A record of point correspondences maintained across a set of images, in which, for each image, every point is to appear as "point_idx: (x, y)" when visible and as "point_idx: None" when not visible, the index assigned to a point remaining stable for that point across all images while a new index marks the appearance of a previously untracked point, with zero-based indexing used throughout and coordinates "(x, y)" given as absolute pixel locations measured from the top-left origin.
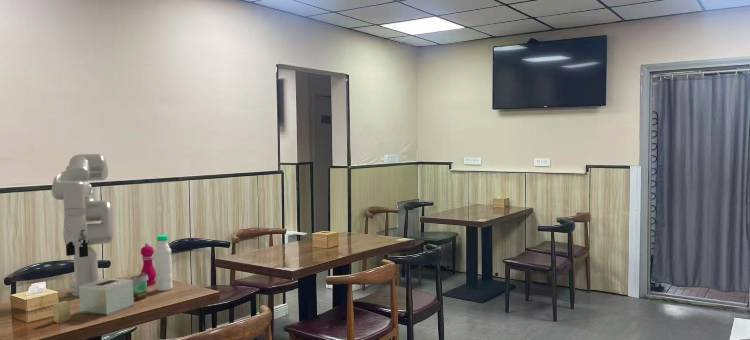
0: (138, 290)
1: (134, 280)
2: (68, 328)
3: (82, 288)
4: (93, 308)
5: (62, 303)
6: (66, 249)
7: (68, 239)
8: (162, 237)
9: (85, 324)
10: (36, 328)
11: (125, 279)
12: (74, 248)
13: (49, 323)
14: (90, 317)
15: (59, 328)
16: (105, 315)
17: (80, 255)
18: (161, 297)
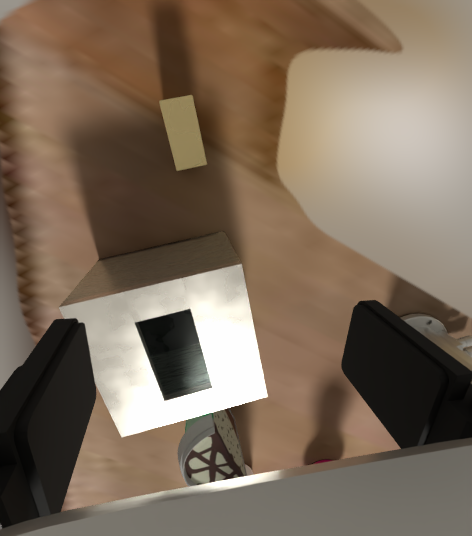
0: (186, 420)
1: (185, 445)
2: (50, 87)
3: (218, 265)
4: (159, 251)
5: (167, 130)
6: (417, 339)
7: (411, 528)
8: None
9: (50, 157)
10: (171, 16)
11: (158, 424)
12: (380, 418)
13: (194, 91)
14: (133, 219)
15: (83, 67)
16: (105, 258)
17: (49, 334)
18: (158, 440)
